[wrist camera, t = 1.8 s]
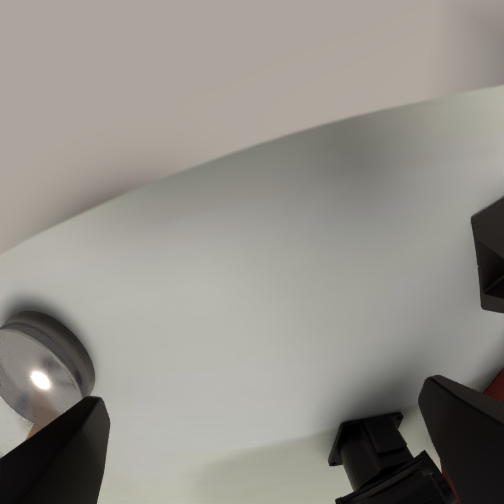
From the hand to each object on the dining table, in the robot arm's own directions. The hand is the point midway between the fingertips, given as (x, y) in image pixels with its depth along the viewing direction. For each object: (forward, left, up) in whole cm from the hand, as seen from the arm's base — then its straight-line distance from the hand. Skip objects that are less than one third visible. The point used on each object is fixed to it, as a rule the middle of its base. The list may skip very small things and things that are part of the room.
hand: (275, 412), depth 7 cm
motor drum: (-9, +16, -13) cm, 22 cm away
